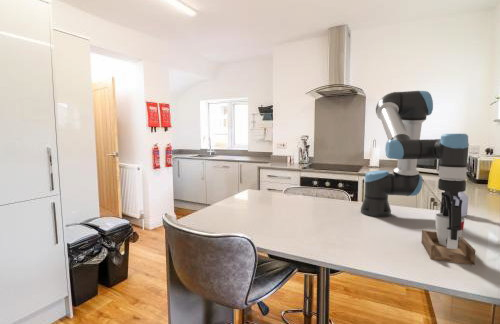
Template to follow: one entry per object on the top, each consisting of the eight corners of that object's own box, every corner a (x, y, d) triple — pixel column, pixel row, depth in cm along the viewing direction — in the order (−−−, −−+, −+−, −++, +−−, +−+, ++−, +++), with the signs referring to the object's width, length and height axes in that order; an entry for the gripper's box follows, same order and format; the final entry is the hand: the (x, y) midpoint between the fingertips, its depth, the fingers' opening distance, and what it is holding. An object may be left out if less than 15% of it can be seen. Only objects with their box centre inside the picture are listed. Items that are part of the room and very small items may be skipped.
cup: (446, 249, 89) (448, 220, 89) (428, 240, 98) (429, 213, 97) (469, 248, 90) (471, 219, 89) (449, 239, 98) (450, 212, 97)
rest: (430, 259, 92) (431, 244, 91) (421, 242, 107) (422, 230, 106) (474, 265, 87) (475, 250, 87) (458, 246, 102) (459, 233, 102)
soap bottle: (471, 217, 139) (474, 170, 137) (451, 216, 141) (453, 169, 139) (461, 212, 148) (464, 168, 146) (442, 211, 150) (445, 167, 148)
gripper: (477, 184, 81) (472, 257, 83) (455, 175, 100) (452, 235, 102) (447, 182, 84) (443, 253, 86) (432, 174, 103) (429, 233, 105)
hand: (448, 243), depth 94 cm, fingers closed on cup, 8 cm apart
